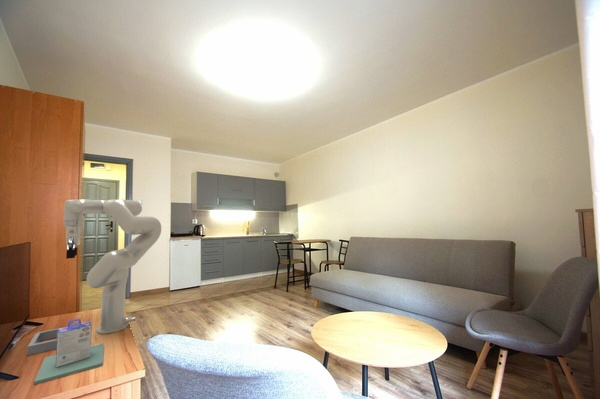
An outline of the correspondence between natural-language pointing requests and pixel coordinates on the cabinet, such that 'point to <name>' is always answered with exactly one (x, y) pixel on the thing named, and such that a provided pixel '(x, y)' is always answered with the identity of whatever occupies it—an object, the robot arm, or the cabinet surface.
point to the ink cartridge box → (73, 342)
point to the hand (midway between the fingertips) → (71, 256)
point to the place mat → (69, 365)
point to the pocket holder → (43, 346)
